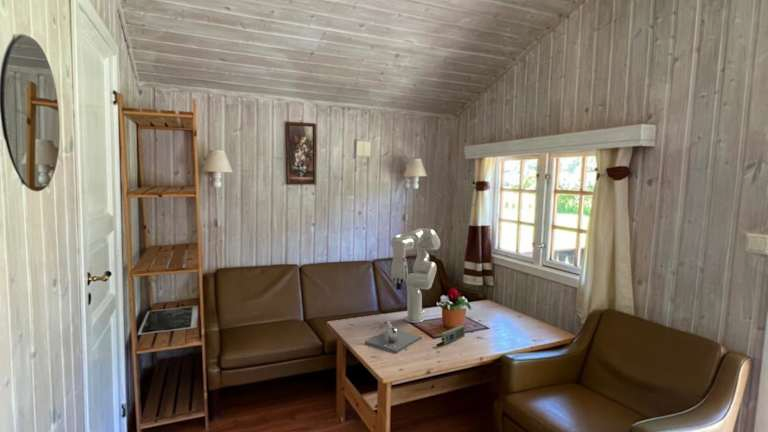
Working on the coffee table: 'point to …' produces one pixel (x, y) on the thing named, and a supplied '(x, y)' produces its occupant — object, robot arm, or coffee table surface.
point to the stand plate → (402, 342)
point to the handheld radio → (452, 335)
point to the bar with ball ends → (391, 332)
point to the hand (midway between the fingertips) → (399, 289)
